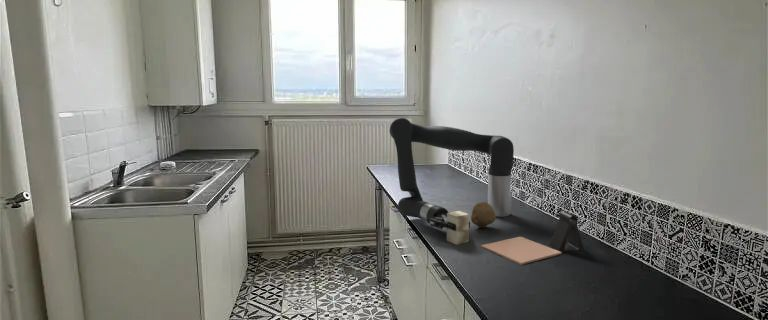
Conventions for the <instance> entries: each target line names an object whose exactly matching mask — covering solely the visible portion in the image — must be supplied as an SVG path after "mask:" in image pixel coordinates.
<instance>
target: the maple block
mask: <svg viewBox="0 0 768 320" xmlns="http://www.w3.org/2000/svg"><path fill="white" fill-rule="evenodd" d="M448 212H449V211H448ZM447 221H449V222H451V223H454V224H456V230H455V231H453V230H451V229H449V228H448V229H446V241H447V242H450V243H452V244H454V245H460V244H461V245H462V244H465V243H469V237H470V236H469V234H470V231H469V230H470V228H469V222H470V214H469V213H466V212H464V211H461V210H456V211H451V212H449V213H447Z"/></svg>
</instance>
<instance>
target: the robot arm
mask: <svg viewBox="0 0 768 320" xmlns="http://www.w3.org/2000/svg"><path fill="white" fill-rule="evenodd" d="M389 134H390V137H391V138H392V139H393V140H394V145H395V148H396V156H397V157H396V158H397V174H398V182H399V188H400V191H402V192H407V193H409V195H410V196H408V197H407V196H406V197H403V198H401V199H399V201H398V203H397V209H398V211H399V213H401V215H402V216H406V217H409V218H410V217H411V218H418V219H420V220H422V221H424V222H425V223H427V224H429V226H430V227H434V228H437V229H440V230H443V229H446V230H447V229H448V228H449V229H451V230H453V231H455V230H456V224H454V223H451V222H449V221H447V213H449V211H448V209H446V208H445V207H443V206H440V205H437V204H435V203H430V202H428V201H424V200H423V196H422V194H421V191H420V190H419V188H418V184H417V176H416V175H417V174H416V169H415V163H414V162H415V161H414V157H413V143H418V144H424V145H428V146H432V147H436V148H441V149H444V150H448V151H449V150H451V151H459V152H465V151H466V152H467V151H468V152H469V151H470V152H479V153H481V154H482V153H483V154H486V155H489V156H490V165H489V167H488V174H487V175H488V178H487V181H488V182H487V183H488V184H487V185H488V186H487V203H488V204H489V205H491V207H492V208H493V210H494V213H495V215H496V217H497V218H498V217H499V218H502V217H503V218H506V217H508V216H510V215H512V211H513V210H512V209H513V207H512V206H513V191H511V190H512V189H511V187H512V186H511V185H512V184H511V183H512V170H513V167H514V166H513V165H514V154H515V153H514V150H515V149H514V143H513V141H512V140H511V139H509V138H508V137H506V136H503V135H494V134H493V135H492V134H491V135H489V134H481V133H480V134H479V133H476V132H471V131H469V130H466V129H462V128H461V129H460V128H456V127H450V126H443V125H442V126H441V125H428V126H427V125H421V124H417V123H412V122H411V121H410V120H409V119H408V118H405V117H398V118H395V119H394V120H393V121H392V122H391V123H390V126H389ZM470 228H471V222H470V221H469V229H470Z"/></svg>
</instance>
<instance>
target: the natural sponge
mask: <svg viewBox="0 0 768 320" xmlns="http://www.w3.org/2000/svg"><path fill="white" fill-rule="evenodd" d="M470 221H471V222H472V224H473V225H476V226H477V227H479V228H486V227H487V226H489V225H492V224H493V223H494V222H495V221H496V215H495V213H494V210H493V208H492V207H491V205H489V204H488V202H485V201H483V202H477V203H476V204H474V206H473V207H472V211H471V216H470Z"/></svg>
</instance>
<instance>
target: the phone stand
mask: <svg viewBox="0 0 768 320" xmlns="http://www.w3.org/2000/svg"><path fill="white" fill-rule="evenodd" d="M558 217H559V218H558V222H557V224H556V227H555V229H554V232H553V235H552V238H551V239H550V243H549V246H550V248H552V249H555V250H557V251H560V252H562V253H564V252H575V251H577V252H578V251H584V250H585V248H584V247H585V246H584V244H583V241H582V237H581V233H580V230H579V228H578V217H577V216H576V215H574V214H572V213H570V212H569V211H566V210H564V211H563V210H561V211H560V212H559V214H558ZM567 241H568V243H567Z"/></svg>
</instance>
